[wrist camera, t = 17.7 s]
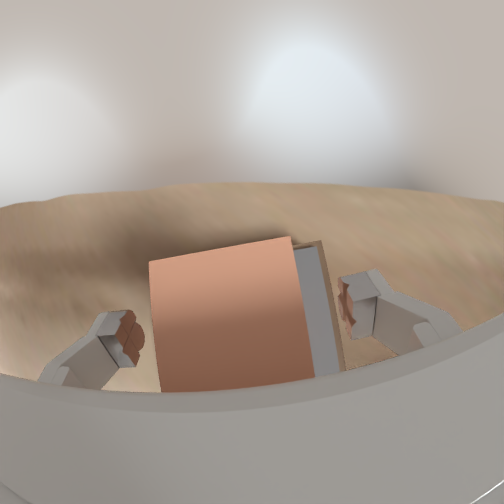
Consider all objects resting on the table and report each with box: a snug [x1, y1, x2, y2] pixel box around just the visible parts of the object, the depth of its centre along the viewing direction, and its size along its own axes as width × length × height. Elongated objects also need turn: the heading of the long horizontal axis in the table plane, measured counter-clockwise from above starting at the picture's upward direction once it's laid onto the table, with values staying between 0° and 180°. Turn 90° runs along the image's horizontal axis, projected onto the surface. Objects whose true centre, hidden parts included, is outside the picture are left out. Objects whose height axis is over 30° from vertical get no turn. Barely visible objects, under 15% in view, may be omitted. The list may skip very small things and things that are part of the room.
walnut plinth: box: [292, 240, 346, 377], centre depth 20 cm, size 11×11×4 cm
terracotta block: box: [149, 236, 315, 393], centre depth 13 cm, size 5×5×10 cm
